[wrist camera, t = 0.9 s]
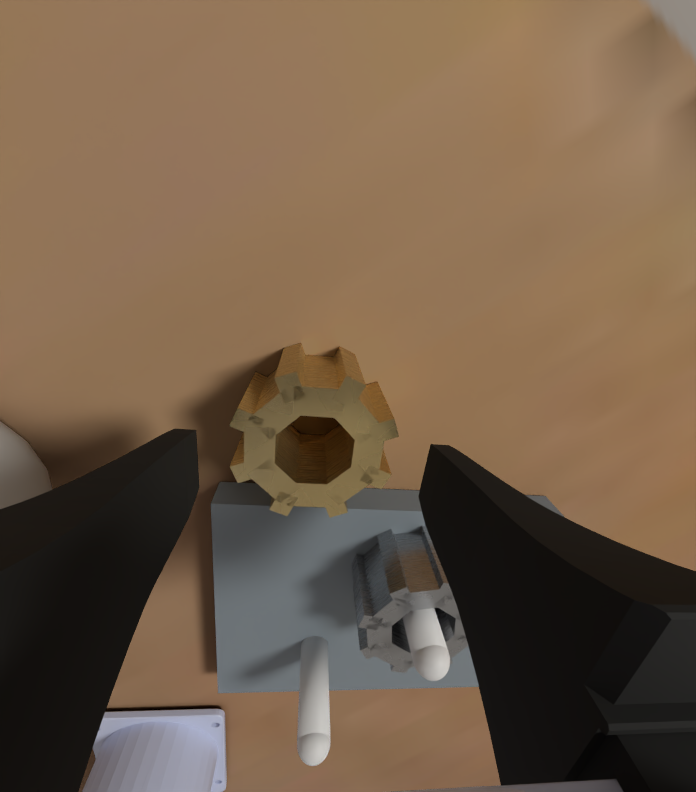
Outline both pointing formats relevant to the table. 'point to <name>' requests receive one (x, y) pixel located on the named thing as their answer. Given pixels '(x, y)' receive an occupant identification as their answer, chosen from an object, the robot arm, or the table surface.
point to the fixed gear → (401, 596)
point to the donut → (19, 469)
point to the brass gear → (313, 454)
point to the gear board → (313, 603)
